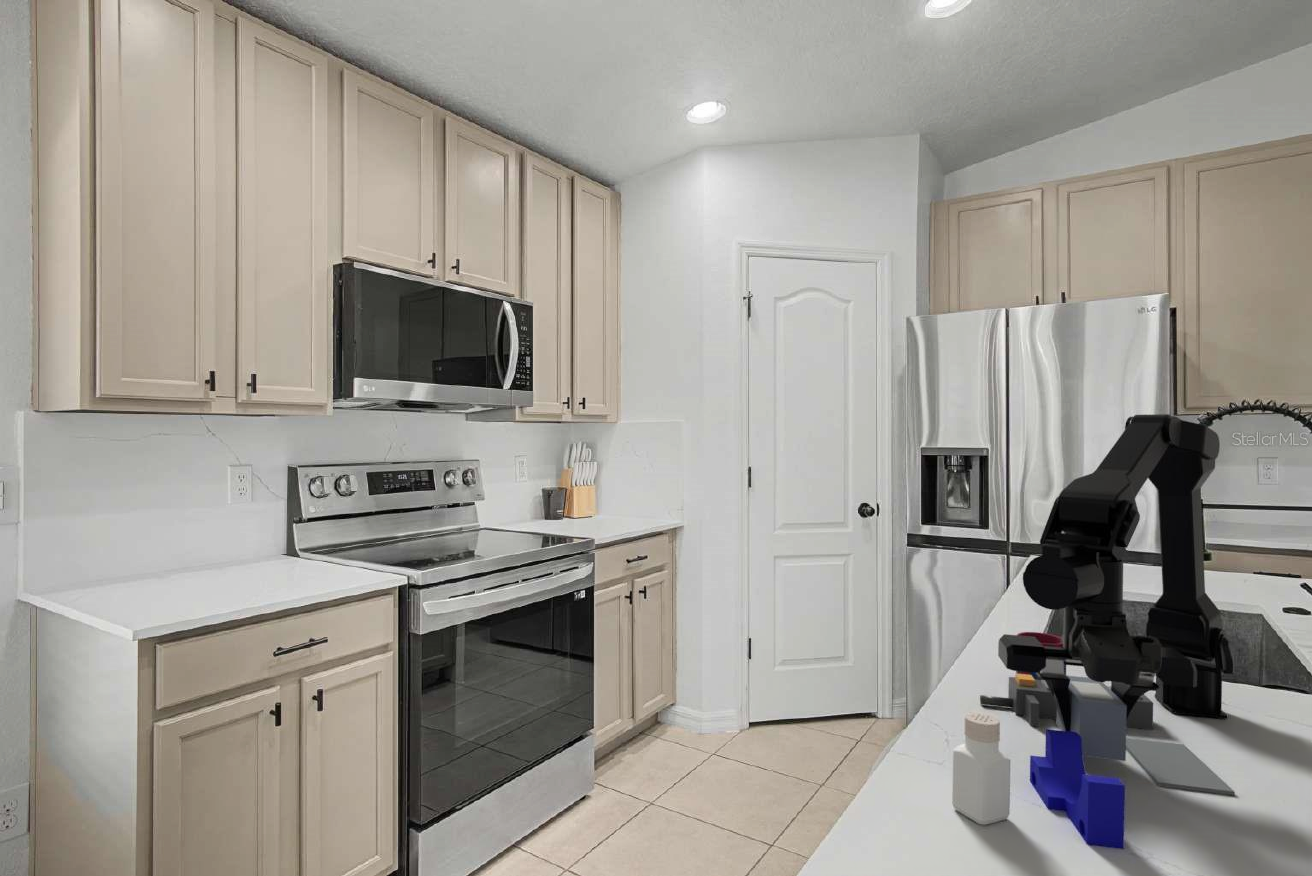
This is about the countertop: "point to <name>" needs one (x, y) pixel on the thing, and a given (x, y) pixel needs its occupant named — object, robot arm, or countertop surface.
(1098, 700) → the block
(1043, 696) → the power strip
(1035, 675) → the mug
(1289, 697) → the countertop surface
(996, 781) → the pepper shaker
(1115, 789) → the cable clip
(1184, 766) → the mat
